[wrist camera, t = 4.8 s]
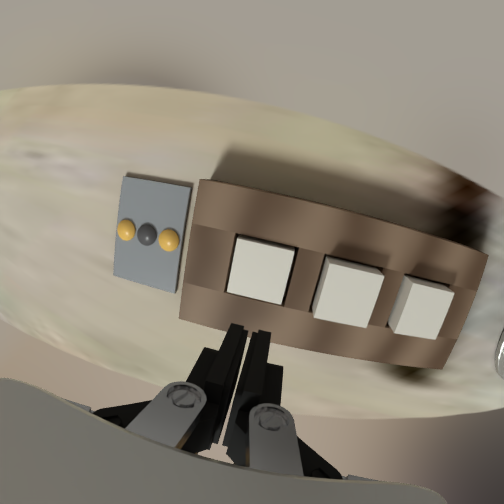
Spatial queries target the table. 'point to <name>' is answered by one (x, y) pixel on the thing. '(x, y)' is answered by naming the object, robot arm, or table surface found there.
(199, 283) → the button board
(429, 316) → the button
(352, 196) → the table surface
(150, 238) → the card
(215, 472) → the robot arm
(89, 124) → the table surface
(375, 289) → the button middle
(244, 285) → the button
